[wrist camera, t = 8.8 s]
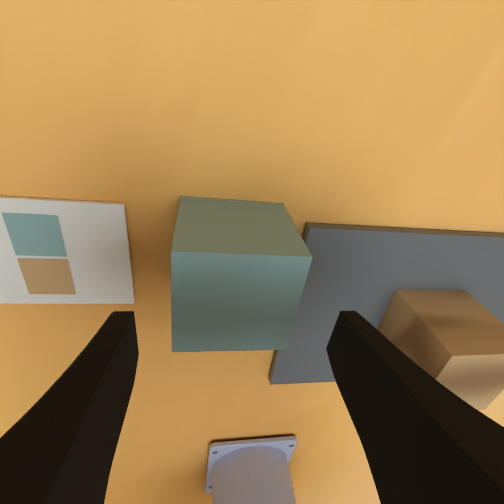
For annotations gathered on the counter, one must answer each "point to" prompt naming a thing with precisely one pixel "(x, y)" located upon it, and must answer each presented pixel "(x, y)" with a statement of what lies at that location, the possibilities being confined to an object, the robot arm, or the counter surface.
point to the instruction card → (64, 252)
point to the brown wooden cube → (449, 340)
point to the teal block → (235, 275)
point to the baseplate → (381, 283)
